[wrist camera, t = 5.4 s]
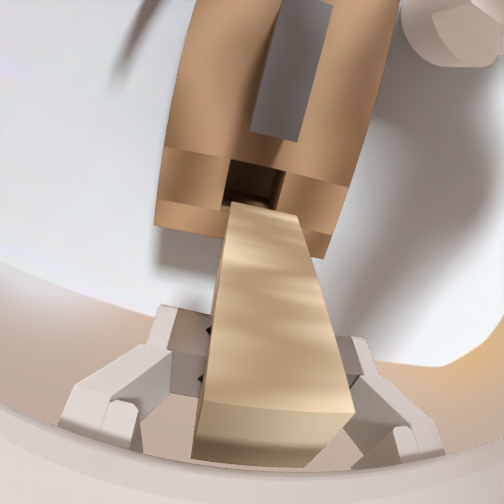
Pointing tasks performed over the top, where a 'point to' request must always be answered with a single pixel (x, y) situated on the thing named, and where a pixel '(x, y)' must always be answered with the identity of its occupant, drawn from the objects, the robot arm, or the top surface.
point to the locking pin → (269, 350)
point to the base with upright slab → (455, 31)
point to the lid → (273, 107)
